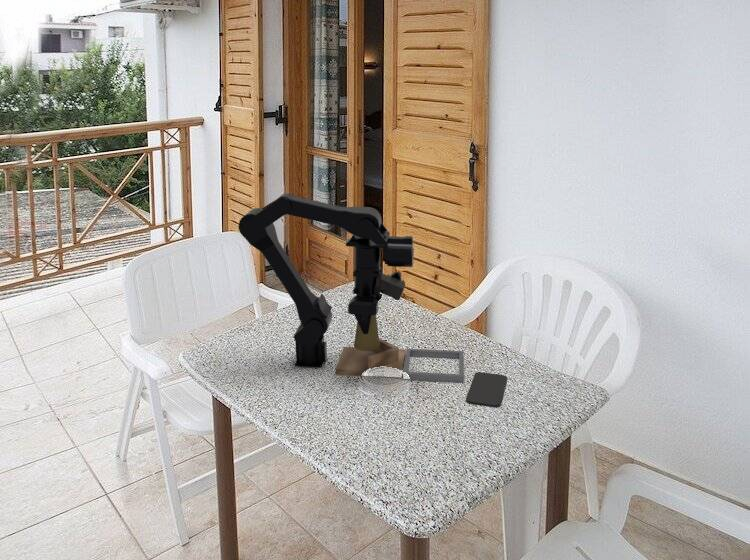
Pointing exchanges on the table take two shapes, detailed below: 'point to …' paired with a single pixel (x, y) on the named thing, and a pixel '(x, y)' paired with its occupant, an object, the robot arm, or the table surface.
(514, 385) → the table surface
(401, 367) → the dog kennel
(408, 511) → the table surface
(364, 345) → the cork
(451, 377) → the steel collar
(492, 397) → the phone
